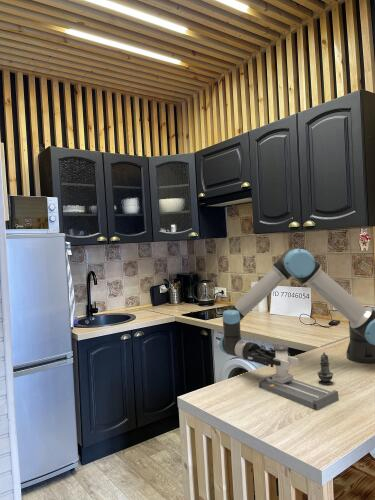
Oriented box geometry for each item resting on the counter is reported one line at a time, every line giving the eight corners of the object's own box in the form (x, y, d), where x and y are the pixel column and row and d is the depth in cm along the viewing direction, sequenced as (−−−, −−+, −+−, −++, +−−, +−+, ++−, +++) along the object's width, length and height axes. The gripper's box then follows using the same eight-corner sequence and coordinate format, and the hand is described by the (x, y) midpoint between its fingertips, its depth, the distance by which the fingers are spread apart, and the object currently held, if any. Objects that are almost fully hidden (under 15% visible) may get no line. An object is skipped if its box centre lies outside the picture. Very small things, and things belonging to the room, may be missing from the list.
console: (280, 379, 146) (279, 372, 146) (338, 399, 124) (338, 391, 124) (258, 387, 139) (258, 379, 139) (316, 410, 118) (316, 401, 118)
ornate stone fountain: (329, 379, 143) (328, 349, 143) (336, 385, 137) (334, 353, 137) (315, 380, 143) (313, 350, 143) (321, 386, 137) (319, 354, 137)
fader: (282, 376, 141) (281, 343, 141) (293, 379, 136) (291, 346, 136) (272, 379, 137) (270, 346, 137) (282, 383, 133) (280, 349, 133)
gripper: (263, 355, 157) (308, 368, 137) (233, 364, 147) (277, 380, 127) (262, 338, 157) (307, 348, 137) (232, 346, 147) (276, 358, 127)
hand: (293, 363), depth 132 cm, fingers closed on fader, 4 cm apart
